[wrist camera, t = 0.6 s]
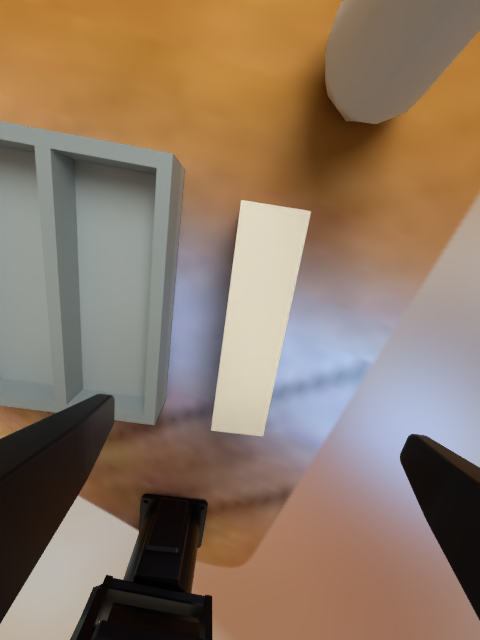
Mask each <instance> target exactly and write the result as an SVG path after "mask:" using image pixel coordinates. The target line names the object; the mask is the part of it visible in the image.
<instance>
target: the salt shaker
mask: <svg viewBox="0 0 480 640" xmlns="http://www.w3.org/2000/svg"><path fill="white" fill-rule="evenodd" d="M479 30H480V0H343V2H342V3H341V5H340V6H339V8H338V11H337V14H336V17H335V20H334V23H333V26H332V29H331V32H330V35H329V38H328V41H327V45H326V50H325V83H326V90H327V96H328V97H329V99H330V100H331V101H332V103H333V104H334V106H335V107H336V108H337V110H338V111H339V113H340V114H341V115H342V117H343V118H344V120H345V121H346V122H348V121H357V122H364V123H371V124H379V123H381V122H384V121H386V120H389V119H391V118H394V117H396V116H399V115H401V114H403V113H405V112H407V111H408V110H409V109H410V108H411V107H412V106H413V105H414V104H415V103H416V102H417V101H418V100H419V99H420V98H421V97H422V96H423V95H424V94H425V93H426V92H427V91H428V90H429V89H430V88H431V86H432V85H433V84H434V83H435V82H436V81H437V79H438V78H439V77H440V76H441V75H442V74H443V72H444V71H445V70H446V69H447V68H448V67H449V65H450V64H451V63H452V62H453V61H454V60H455V58H456V57H457V56H458V55H459V54H460V53H461V51H462V50H463V49H464V48H465V47H466V46H467V44H468V43H469V42H470V41H471V40H472V39H473V37H474V36H475V35H476V34H477V33H478V32H479Z"/></svg>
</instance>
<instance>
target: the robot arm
mask: <svg viewBox="0 0 480 640" xmlns="http://www.w3.org/2000/svg"><path fill="white" fill-rule="evenodd" d="M114 418H115V399H114V396H113V395H109V394H101V393H99V394H96V395H94V396H92V397H90V398H87V399H85V400H83V401H81V402H79V403H77V404H75V405H72V406H70V407H68V408H66V409H64V410H62V411H59V412H57V413H55V414H53V415H51V416H49V417H47V418H44V419H42V420H40V421H38V422H36V423H34V424H31V425H29V426H27V427H25V428H23V429H21V430H18V431H16V432H14V433H12V434H10V435H8V436H6V437H3V438H1V439H0V623H1V622H2V620H3V618H4V616H5V615H6V613H7V612H8V610H9V608H10V607H11V605H12V603H13V602H14V600H15V598H16V596H17V595H18V593H19V592H20V590H21V588H22V587H23V585H24V583H25V582H26V580H27V579H28V577H29V575H30V574H31V572H32V570H33V569H34V567H35V565H36V564H37V562H38V560H39V559H40V557H41V555H42V554H43V552H44V550H45V549H46V547H47V545H48V544H49V542H50V540H51V539H52V537H53V535H54V534H55V532H56V531H57V529H58V527H59V525H60V524H61V522H62V521H63V519H64V517H65V516H66V514H67V512H68V511H69V509H70V507H71V506H72V504H73V502H74V500H75V499H76V497H77V496H78V494H79V493H80V491H81V489H82V487H83V486H84V484H85V482H86V480H87V478H88V476H89V474H90V472H91V470H92V468H93V466H94V464H95V462H96V460H97V458H98V456H99V454H100V452H101V450H102V448H103V445H104V443H105V441H106V439H107V437H108V435H109V433H110V431H111V429H112V427H113V424H114ZM400 461H401V464H402V466H403V468H404V471H405V473H406V475H407V477H408V480H409V482H410V484H411V487H412V489H413V491H414V494H415V496H416V498H417V500H418V503H419V505H420V507H421V509H422V511H423V513H424V516H425V518H426V520H427V522H428V524H429V526H430V528H431V530H432V532H433V533H434V535H435V537H436V539H437V541H438V543H439V545H440V547H441V549H442V550H443V552H444V554H445V556H446V558H447V560H448V562H449V563H450V565H451V567H452V569H453V571H454V573H455V575H456V577H457V579H458V581H459V582H460V584H461V586H462V588H463V590H464V592H465V594H466V595H467V598H468V599H469V601H470V603H471V605H472V607H473V609H474V610H475V613H476V614H477V616H478V618H479V620H480V468H479V467H478V466H476V465H474V464H472V463H471V462H469V461H467V460H466V459H464V458H462V457H461V456H459V455H457V454H456V453H454V452H452V451H451V450H449V449H447V448H446V447H444V446H442V445H441V444H439V443H437V442H435V441H434V440H432V439H430V438H429V437H427V436H424V435H417V434H411V435H410V436H408V438H407V440H406V443H405V445H404V447H403V449H402V452H401V454H400ZM207 507H208V503H207V501H205V500H197V499H188V498H180V497H171V496H162V495H153V494H144V495H143V496H142V499H141V506H140V524H139V535H138V538H137V541H136V544H135V547H134V550H133V553H132V556H131V559H130V562H129V564H128V567H127V570H126V573H125V577H124V580H120V579H116V578H113V576H109V575H106V577H105V579H104V582H103V584H101V585H99V586H96V587H93V590H92V592H91V594H90V597H89V599H88V602H87V604H86V607H85V609H84V611H83V613H82V616H81V618H80V620H79V622H78V624H77V626H76V628H75V631H74V633H73V635H72V637H71V639H70V640H212V596H210V595H205V596H202V595H197V594H192V593H191V591H192V583H193V577H194V569H195V562H196V554H197V548H199V547H200V546H201V542H202V537H203V531H204V525H205V519H206V513H207ZM99 621H100V622H99Z"/></svg>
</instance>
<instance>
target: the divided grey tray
mask: <svg viewBox="0 0 480 640" xmlns="http://www.w3.org/2000/svg"><path fill="white" fill-rule="evenodd" d="M184 172H185V169H184V167H183V166H182V165H181V163H180V162H179V161H178V160H177V158H176V157H175V156H174V154H173V153H167V152H162V151H157V150H151V149H146V148H141V147H135V146H130V145H125V144H119V143H114V142H109V141H103V140H98V139H93V138H87V137H82V136H77V135H71V134H66V133H61V132H56V131H50V130H45V129H40V128H34V127H29V126H24V125H18V124H13V123H8V122H2V121H0V406H7V407H15V408H23V409H31V410H39V411H46V412H54V413H57V412H59V411H62V410H64V409H66V408H68V407H70V406H72V405H75V404H77V403H79V402H81V401H83V400H85V399H87V398H90V397H92V396H94V395H96V394H99V393H101V394H109V395H113V396H114V399H115V418H114V420H117V421H125V422H133V423H140V424H148V425H155V423H156V420H157V418H158V416H159V414H160V412H161V409H162V407H163V405H164V403H165V401H166V390H167V378H168V366H169V354H170V341H171V329H172V317H173V305H174V293H175V281H176V269H177V257H178V245H179V232H180V220H181V208H182V196H183V184H184Z"/></svg>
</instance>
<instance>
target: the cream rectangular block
mask: <svg viewBox="0 0 480 640" xmlns="http://www.w3.org/2000/svg"><path fill="white" fill-rule="evenodd" d="M310 215H311V211H307V210H301V209H295V208H288V207H282V206H276V205H270V204H263V203H257V202H251V201H244V200H241V205H240V213H239V221H238V228H237V236H236V244H235V251H234V259H233V266H232V274H231V282H230V289H229V297H228V304H227V312H226V320H225V327H224V335H223V342H222V350H221V358H220V365H219V373H218V380H217V388H216V396H215V403H214V411H213V418H212V426H211V431H219V432H228V433H237V434H246V435H254V436H263V434H264V430H265V425H266V420H267V416H268V411H269V406H270V402H271V397H272V392H273V388H274V383H275V378H276V373H277V369H278V364H279V359H280V355H281V350H282V345H283V341H284V336H285V331H286V327H287V322H288V317H289V313H290V308H291V303H292V299H293V294H294V289H295V285H296V280H297V275H298V271H299V266H300V261H301V257H302V252H303V247H304V243H305V238H306V233H307V229H308V224H309V219H310Z"/></svg>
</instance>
